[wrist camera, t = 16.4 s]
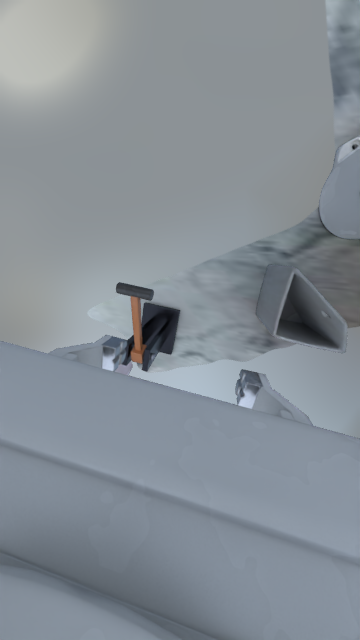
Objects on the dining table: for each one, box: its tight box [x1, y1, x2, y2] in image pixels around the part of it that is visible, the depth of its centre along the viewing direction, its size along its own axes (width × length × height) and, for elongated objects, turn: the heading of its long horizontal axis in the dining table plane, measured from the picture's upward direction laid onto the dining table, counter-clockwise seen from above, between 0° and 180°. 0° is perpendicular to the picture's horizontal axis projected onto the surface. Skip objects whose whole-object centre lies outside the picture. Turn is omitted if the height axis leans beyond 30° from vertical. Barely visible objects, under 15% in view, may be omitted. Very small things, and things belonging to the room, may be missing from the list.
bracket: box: [122, 303, 180, 371], centre depth 42 cm, size 12×9×16 cm
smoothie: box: [115, 361, 132, 375], centre depth 48 cm, size 6×6×14 cm
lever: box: [116, 282, 154, 364], centre depth 32 cm, size 16×5×2 cm, turn 170°
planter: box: [256, 265, 347, 353], centre depth 34 cm, size 16×8×19 cm, turn 36°
